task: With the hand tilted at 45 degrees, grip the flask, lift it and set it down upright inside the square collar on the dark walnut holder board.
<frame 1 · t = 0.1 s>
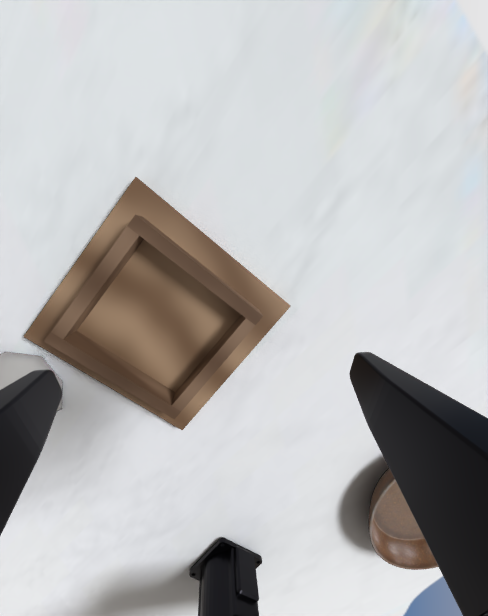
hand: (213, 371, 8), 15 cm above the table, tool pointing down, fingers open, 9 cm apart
flask: (24, 385, 24), on the table
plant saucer: (422, 488, 33), on the table
holder: (163, 318, 23), on the table
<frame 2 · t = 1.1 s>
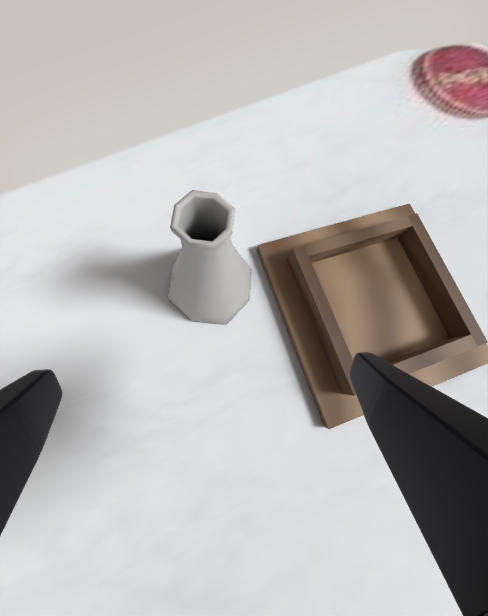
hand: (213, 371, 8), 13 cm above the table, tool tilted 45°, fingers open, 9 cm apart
flask: (211, 285, 23), on the table
holder: (369, 304, 23), on the table
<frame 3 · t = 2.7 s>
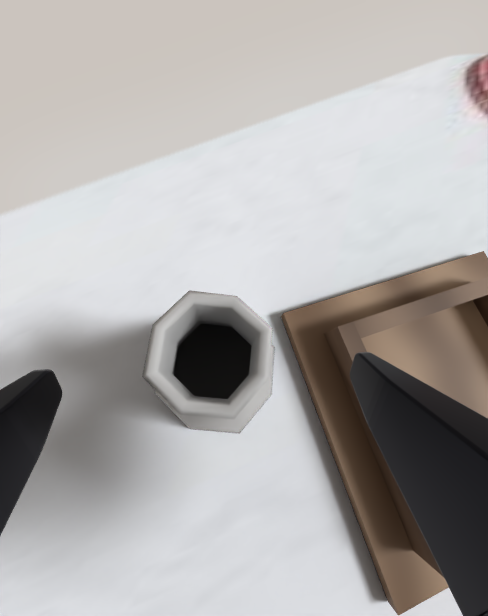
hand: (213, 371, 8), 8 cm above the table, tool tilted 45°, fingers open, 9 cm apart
flask: (217, 369, 16), on the table
holder: (439, 395, 17), on the table
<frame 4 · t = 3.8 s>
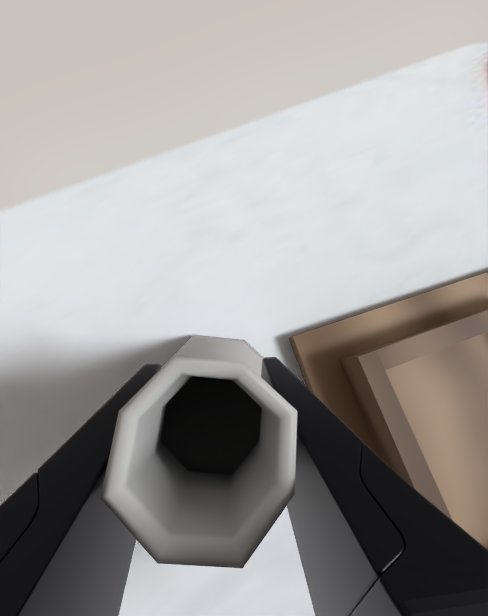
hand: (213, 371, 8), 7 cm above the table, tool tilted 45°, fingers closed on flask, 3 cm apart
flask: (216, 401, 14), on the table, touching gripper
holder: (469, 430, 15), on the table
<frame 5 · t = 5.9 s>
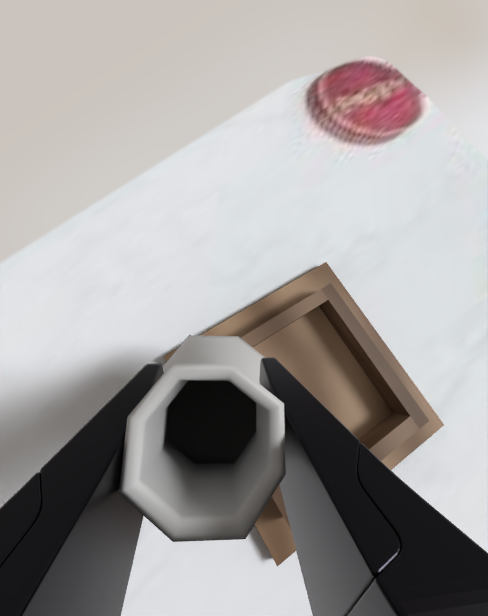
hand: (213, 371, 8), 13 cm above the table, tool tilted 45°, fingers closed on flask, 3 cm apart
flask: (216, 397, 15), point 6 cm above the table, touching gripper
holder: (302, 390, 21), on the table
when the fingers open (9 cm above the table, at t = 7.8 s): flask stays where it is, resting on holder.
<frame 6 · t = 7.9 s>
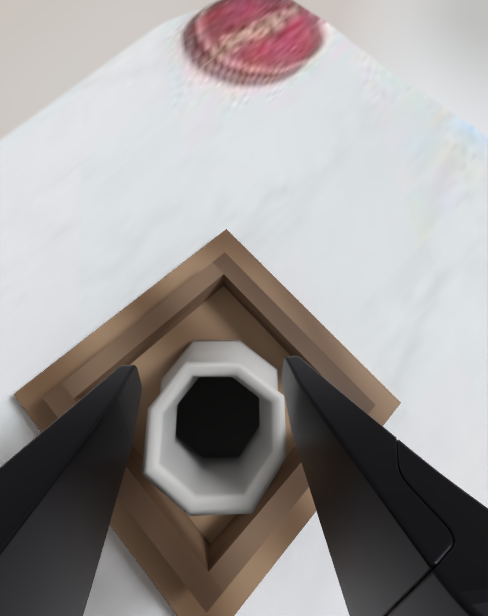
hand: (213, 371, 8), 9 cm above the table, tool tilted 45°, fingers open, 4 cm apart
flask: (220, 398, 15), point 1 cm above the table, touching holder
holder: (217, 397, 16), on the table
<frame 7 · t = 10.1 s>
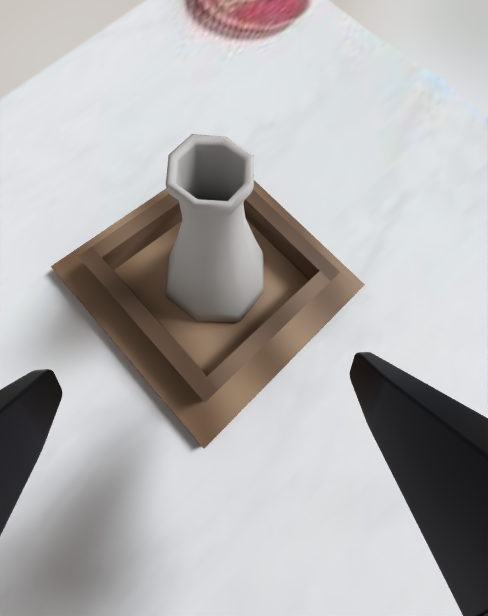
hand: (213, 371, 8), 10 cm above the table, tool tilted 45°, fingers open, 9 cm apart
flask: (216, 277, 19), point 1 cm above the table, touching holder
holder: (214, 279, 19), on the table
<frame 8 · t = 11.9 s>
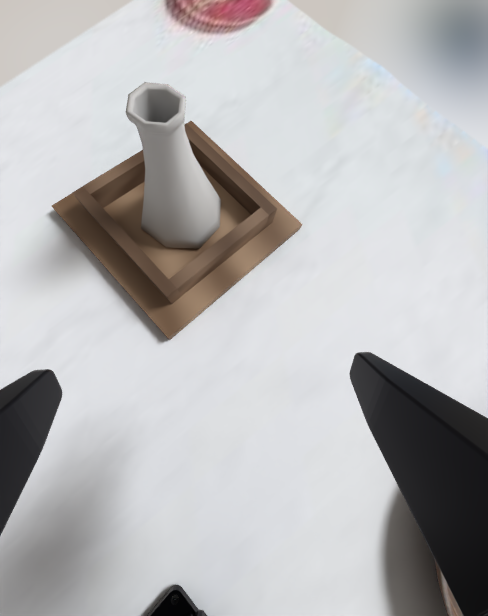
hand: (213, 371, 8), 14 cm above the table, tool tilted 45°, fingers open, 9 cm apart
flask: (182, 216, 24), point 1 cm above the table, touching holder
holder: (182, 220, 24), on the table
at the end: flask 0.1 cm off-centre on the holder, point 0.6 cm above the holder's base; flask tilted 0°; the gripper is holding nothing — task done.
